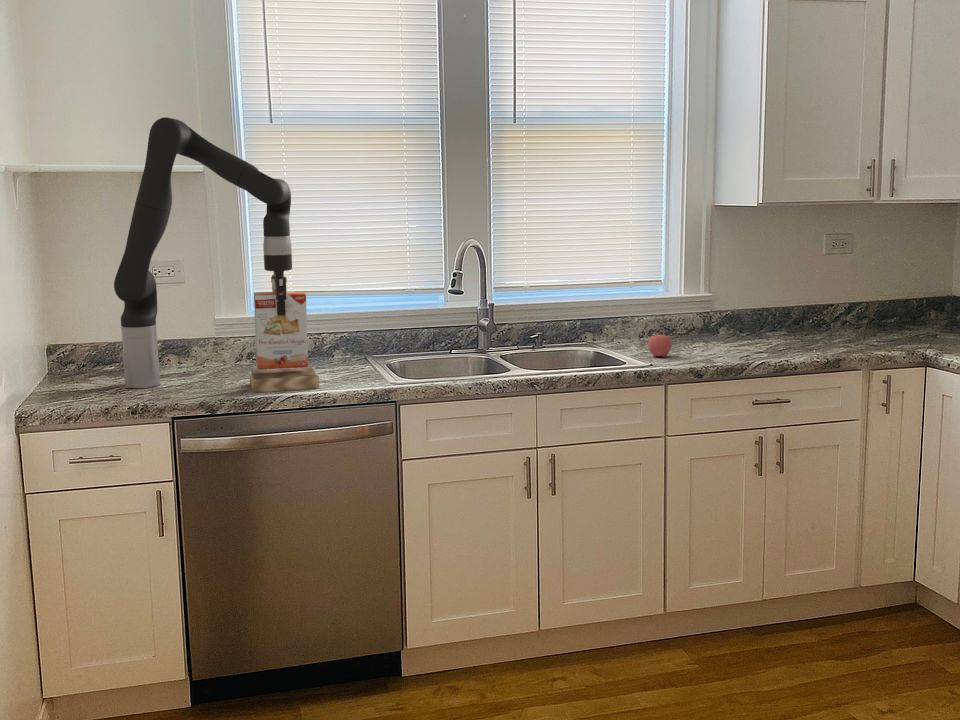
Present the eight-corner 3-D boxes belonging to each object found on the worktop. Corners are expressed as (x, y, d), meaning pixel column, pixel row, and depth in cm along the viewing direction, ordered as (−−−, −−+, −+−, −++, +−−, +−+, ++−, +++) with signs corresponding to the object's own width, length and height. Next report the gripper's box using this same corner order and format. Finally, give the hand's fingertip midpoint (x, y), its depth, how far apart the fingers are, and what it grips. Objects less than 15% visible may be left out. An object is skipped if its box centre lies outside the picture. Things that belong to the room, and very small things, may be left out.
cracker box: (257, 370, 254) (253, 294, 250) (256, 366, 259) (252, 292, 256) (309, 367, 258) (306, 292, 254) (307, 363, 263) (304, 290, 260)
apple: (647, 358, 296) (647, 333, 295) (648, 354, 303) (649, 330, 302) (670, 359, 294) (671, 334, 293) (671, 355, 301) (672, 331, 300)
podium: (252, 392, 251) (252, 379, 250) (250, 383, 263) (249, 370, 262) (319, 388, 256) (318, 374, 255) (313, 379, 268) (313, 366, 267)
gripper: (294, 254, 247) (296, 316, 250) (288, 251, 261) (291, 310, 264) (265, 254, 245) (268, 317, 248) (261, 251, 258) (264, 311, 261)
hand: (280, 313), depth 256 cm, fingers closed on cracker box, 6 cm apart
